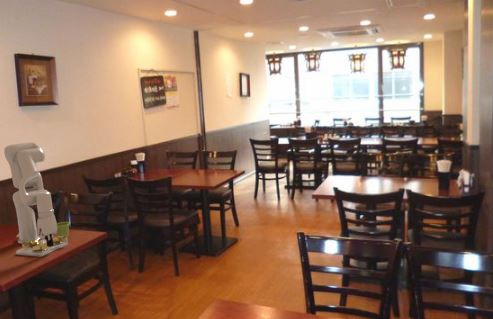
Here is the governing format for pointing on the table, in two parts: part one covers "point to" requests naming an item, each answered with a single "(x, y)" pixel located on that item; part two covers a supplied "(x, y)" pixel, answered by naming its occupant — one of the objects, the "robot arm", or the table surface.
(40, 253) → the base plate
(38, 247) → the knob
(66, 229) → the plant pot
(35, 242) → the knob near
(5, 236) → the table surface
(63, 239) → the knob
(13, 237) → the table surface
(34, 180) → the robot arm
